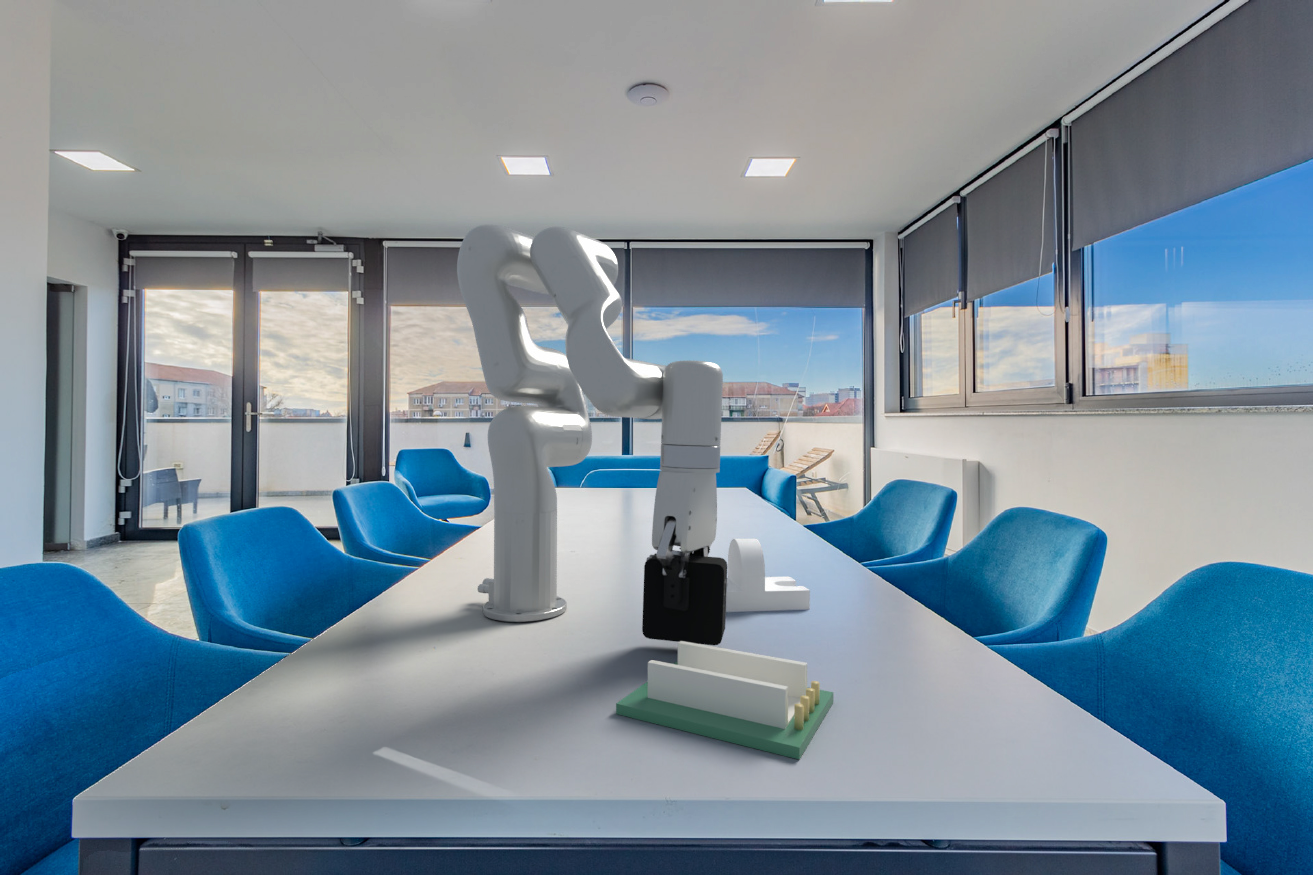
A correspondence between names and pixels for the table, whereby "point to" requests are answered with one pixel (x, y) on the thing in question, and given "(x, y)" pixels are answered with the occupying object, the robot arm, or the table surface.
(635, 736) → the table surface
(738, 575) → the white bracket
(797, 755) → the board
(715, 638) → the electronic device
